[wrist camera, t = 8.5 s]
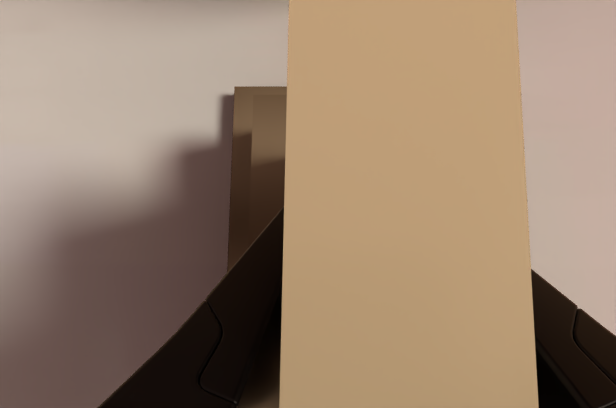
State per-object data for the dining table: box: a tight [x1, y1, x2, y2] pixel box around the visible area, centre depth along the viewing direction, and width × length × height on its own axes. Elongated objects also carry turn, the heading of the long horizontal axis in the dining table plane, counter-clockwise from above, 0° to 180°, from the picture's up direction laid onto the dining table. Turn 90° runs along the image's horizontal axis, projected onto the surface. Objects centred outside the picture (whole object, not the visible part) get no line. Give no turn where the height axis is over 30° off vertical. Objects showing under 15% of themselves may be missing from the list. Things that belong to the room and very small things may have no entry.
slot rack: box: [227, 87, 287, 273], centre depth 16 cm, size 14×10×5 cm
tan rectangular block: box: [279, 0, 539, 408], centre depth 11 cm, size 6×3×11 cm, turn 179°
